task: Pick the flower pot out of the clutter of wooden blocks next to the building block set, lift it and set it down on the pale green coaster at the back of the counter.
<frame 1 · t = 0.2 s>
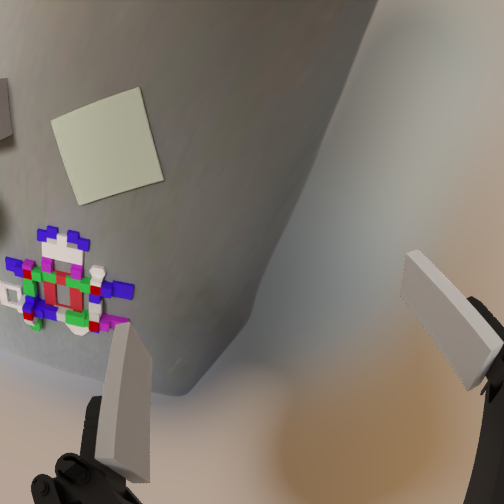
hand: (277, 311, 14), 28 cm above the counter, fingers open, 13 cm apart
building block set: (59, 282, 43), on the counter
coaster: (106, 147, 34), on the counter
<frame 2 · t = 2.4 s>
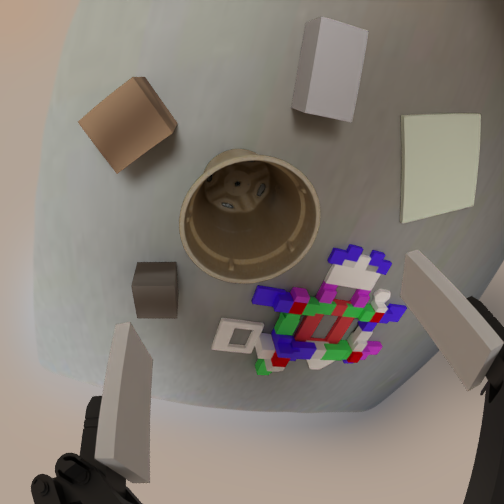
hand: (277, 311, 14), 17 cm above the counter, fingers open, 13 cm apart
walnut block: (136, 117, 23), on the counter
dark block: (158, 277, 32), on the counter
building block set: (321, 312, 39), on the counter
grey block: (319, 69, 24), on the counter
flower pot: (236, 182, 28), on the counter
coaster: (442, 164, 30), on the counter
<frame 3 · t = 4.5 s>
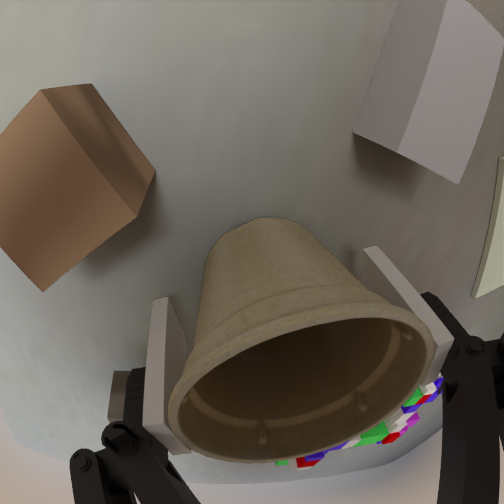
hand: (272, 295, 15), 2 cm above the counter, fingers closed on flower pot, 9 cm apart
walnut block: (82, 160, 12), on the counter
dark block: (146, 386, 21), on the counter
building block set: (358, 398, 28), on the counter
grey block: (407, 77, 13), on the counter
flower pot: (263, 268, 17), on the counter, touching gripper
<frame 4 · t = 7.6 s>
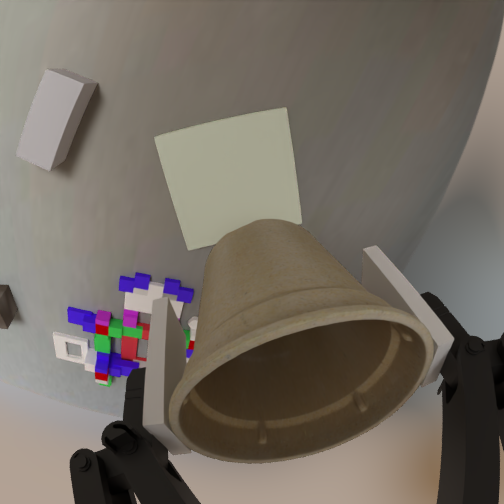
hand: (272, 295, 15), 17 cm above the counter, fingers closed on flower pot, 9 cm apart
dark block: (2, 296, 31), on the counter
building block set: (141, 334, 39), on the counter
grey block: (63, 114, 23), on the counter
flower pot: (263, 269, 17), point 15 cm above the counter, touching gripper
coaster: (232, 180, 30), on the counter
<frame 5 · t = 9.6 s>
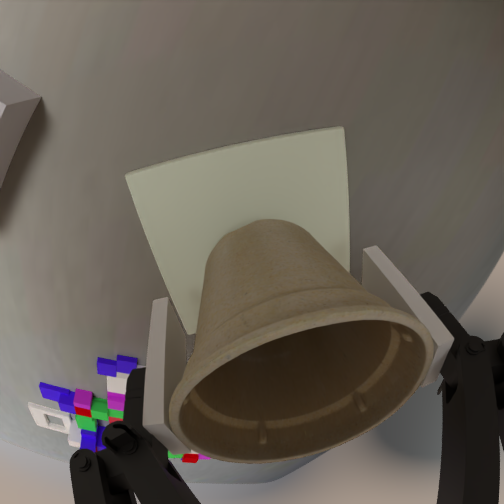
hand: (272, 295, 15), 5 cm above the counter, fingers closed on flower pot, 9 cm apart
building block set: (133, 410, 29), on the counter
flower pot: (263, 269, 17), point 3 cm above the counter, touching gripper
coaster: (254, 239, 19), on the counter
when the fingers open (3 cm above the counter, at t = 11.1 s): flower pot stays where it is, resting on coaster.
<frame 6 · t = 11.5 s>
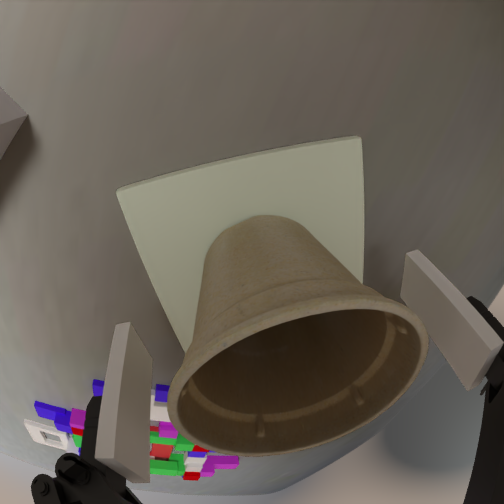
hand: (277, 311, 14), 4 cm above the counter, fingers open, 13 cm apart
building block set: (131, 429, 27), on the counter
flower pot: (261, 265, 17), resting on coaster
coaster: (260, 260, 18), on the counter
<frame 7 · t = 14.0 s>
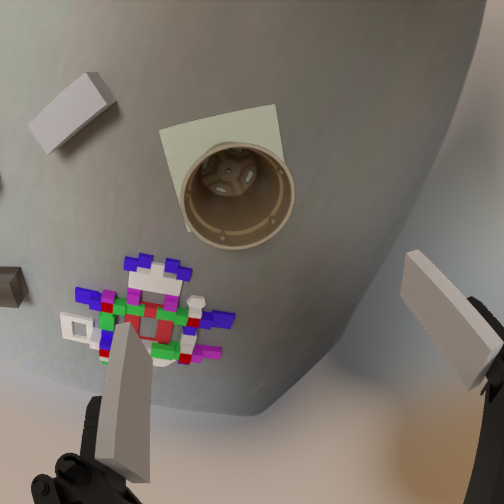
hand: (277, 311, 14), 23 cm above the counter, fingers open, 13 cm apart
dark block: (13, 278, 35), on the counter
building block set: (143, 313, 42), on the counter
grey block: (78, 109, 27), on the counter
flower pot: (228, 169, 33), resting on coaster
coaster: (228, 168, 33), on the counter
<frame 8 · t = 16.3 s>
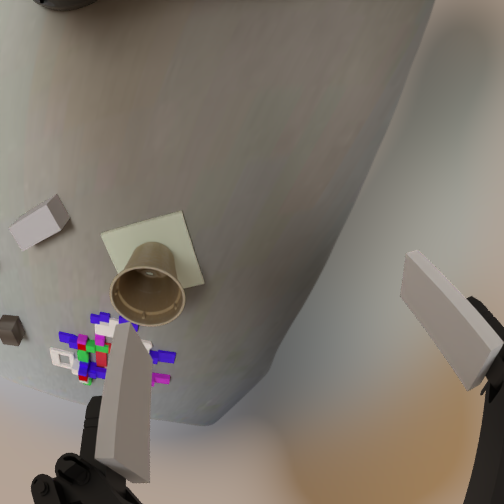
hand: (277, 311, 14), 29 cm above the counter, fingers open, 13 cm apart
dark block: (14, 323, 46), on the counter
building block set: (109, 349, 53), on the counter
grey block: (44, 216, 38), on the counter
flower pot: (153, 259, 44), resting on coaster
coaster: (153, 258, 44), on the counter
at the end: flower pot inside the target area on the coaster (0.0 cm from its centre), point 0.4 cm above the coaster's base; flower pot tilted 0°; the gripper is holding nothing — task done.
